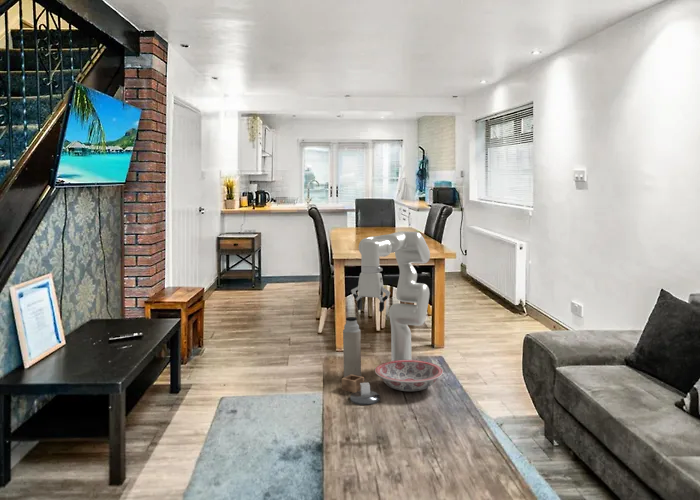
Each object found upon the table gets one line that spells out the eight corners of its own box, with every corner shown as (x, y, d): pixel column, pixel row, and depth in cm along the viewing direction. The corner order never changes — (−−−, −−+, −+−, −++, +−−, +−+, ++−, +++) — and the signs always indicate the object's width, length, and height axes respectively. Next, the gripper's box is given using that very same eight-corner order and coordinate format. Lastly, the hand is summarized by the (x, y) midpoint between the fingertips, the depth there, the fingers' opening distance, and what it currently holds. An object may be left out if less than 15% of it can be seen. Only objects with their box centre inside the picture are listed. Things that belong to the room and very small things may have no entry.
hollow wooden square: (341, 389, 243) (341, 378, 242) (351, 385, 248) (351, 374, 248) (354, 393, 239) (354, 381, 238) (364, 388, 244) (364, 377, 244)
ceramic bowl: (446, 379, 254) (446, 362, 253) (438, 403, 226) (438, 383, 225) (383, 374, 262) (382, 358, 261) (368, 397, 234) (368, 378, 233)
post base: (348, 395, 236) (348, 380, 235) (376, 393, 238) (376, 378, 237) (352, 406, 224) (352, 390, 224) (382, 403, 226) (382, 388, 225)
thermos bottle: (361, 374, 262) (360, 315, 259) (361, 380, 254) (360, 319, 252) (344, 374, 263) (343, 315, 260) (343, 380, 255) (342, 319, 252)
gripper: (392, 269, 235) (392, 310, 237) (354, 268, 242) (355, 307, 244) (386, 272, 229) (387, 313, 230) (347, 270, 235) (348, 310, 237)
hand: (370, 310), depth 237 cm, fingers open, 9 cm apart
